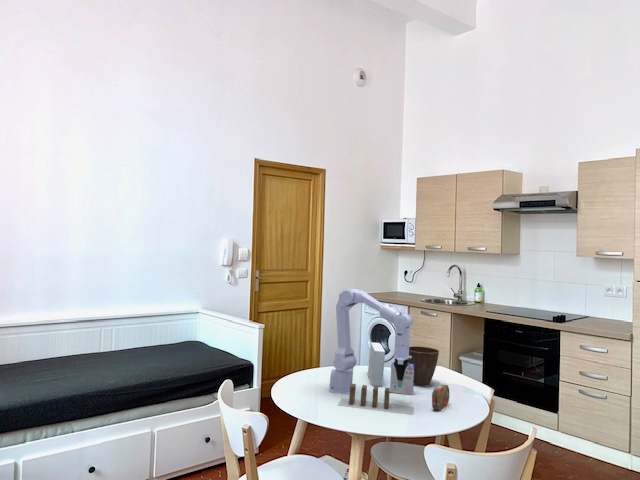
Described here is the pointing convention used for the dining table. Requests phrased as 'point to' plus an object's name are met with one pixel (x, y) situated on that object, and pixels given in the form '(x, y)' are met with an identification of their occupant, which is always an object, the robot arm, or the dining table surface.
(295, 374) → the dining table surface
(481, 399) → the dining table surface
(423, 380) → the plant pot
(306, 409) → the dining table surface
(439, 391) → the tin
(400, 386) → the teal end tile
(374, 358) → the skincare box
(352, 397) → the walnut tile
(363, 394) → the walnut tile
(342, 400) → the mat
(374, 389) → the walnut tile
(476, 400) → the dining table surface
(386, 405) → the walnut tile
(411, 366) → the ink cartridge box
